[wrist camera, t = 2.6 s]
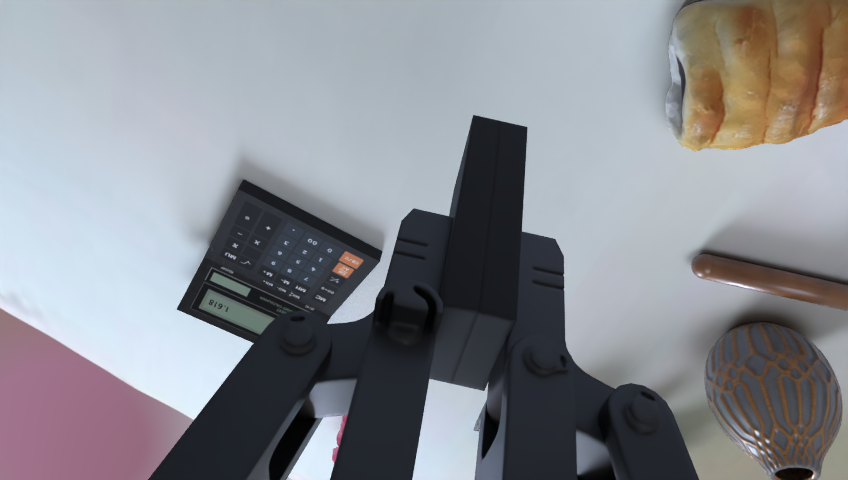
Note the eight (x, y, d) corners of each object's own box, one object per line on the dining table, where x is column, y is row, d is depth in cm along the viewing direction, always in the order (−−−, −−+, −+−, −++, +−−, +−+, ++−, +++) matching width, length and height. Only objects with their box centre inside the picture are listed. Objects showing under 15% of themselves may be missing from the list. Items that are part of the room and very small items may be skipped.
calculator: (382, 251, 37) (372, 288, 35) (311, 332, 44) (299, 366, 42) (243, 179, 34) (223, 214, 32) (194, 279, 42) (175, 312, 40)
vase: (802, 294, 34) (858, 436, 28) (829, 357, 37) (883, 495, 31) (680, 324, 37) (705, 456, 31) (715, 379, 41) (744, 507, 35)
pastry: (947, -62, 20) (1006, -18, 18) (899, 101, 25) (940, 155, 22) (661, -2, 23) (675, 43, 21) (663, 135, 28) (675, 186, 25)
